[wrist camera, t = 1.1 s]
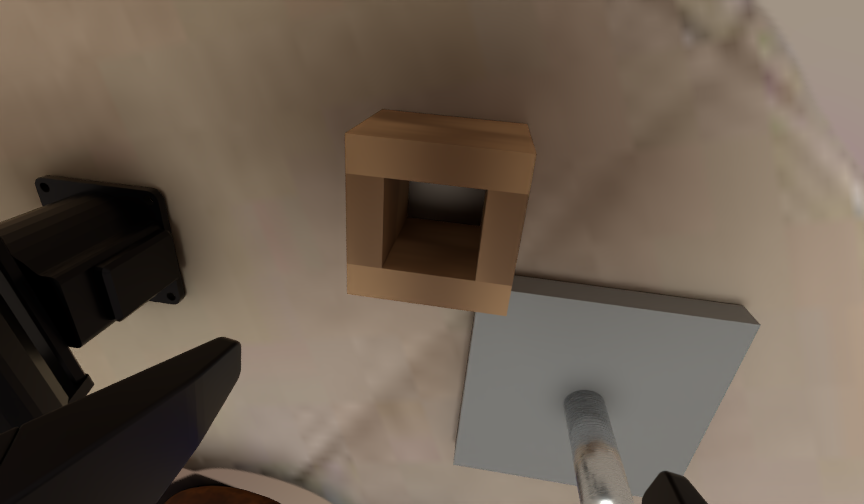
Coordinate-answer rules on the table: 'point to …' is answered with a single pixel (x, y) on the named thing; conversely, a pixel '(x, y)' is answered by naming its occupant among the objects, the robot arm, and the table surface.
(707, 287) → the table surface
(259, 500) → the brown pot
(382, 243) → the wooden hollow block
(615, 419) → the post stand
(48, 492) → the robot arm
